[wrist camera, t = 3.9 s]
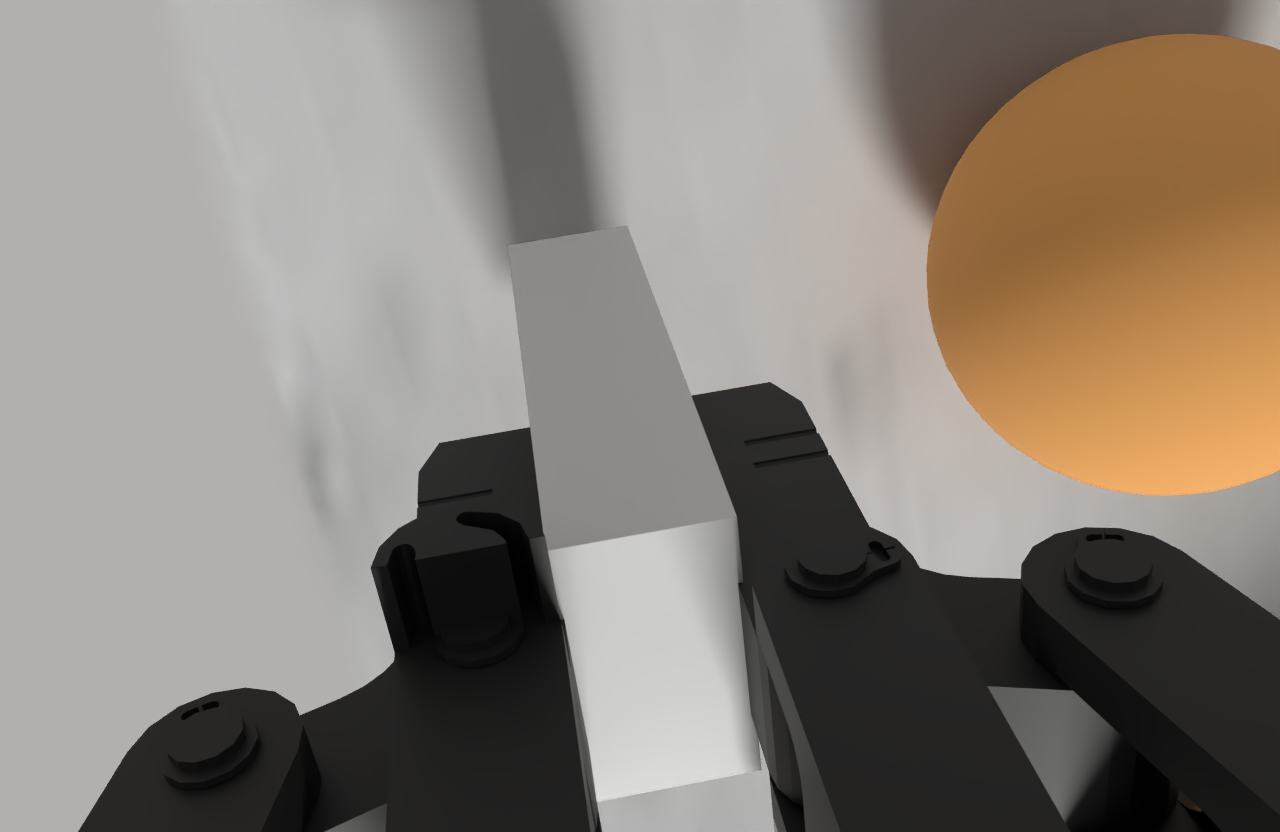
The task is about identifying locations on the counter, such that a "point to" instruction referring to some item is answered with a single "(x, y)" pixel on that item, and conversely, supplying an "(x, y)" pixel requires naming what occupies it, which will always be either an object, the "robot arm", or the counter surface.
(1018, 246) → the ball
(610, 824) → the counter surface
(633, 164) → the counter surface
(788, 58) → the counter surface
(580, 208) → the counter surface
